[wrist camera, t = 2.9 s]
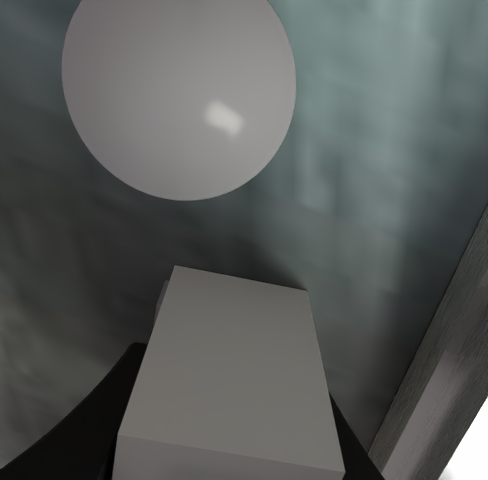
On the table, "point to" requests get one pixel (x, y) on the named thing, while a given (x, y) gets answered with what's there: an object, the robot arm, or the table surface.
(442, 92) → the table surface
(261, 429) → the block
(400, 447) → the board
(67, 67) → the cap
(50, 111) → the table surface
